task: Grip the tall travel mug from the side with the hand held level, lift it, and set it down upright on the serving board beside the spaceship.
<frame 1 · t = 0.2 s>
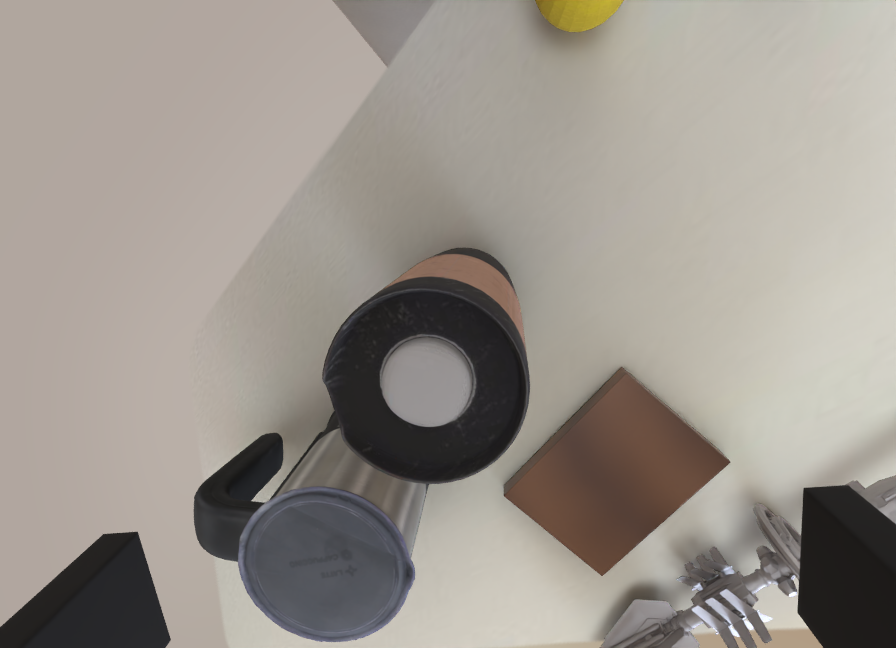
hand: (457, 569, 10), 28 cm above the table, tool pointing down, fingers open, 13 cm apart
spaceship: (771, 519, 39), on the table
lemon: (572, 2, 33), on the table
serving board: (609, 469, 39), on the table
milk frother: (368, 483, 42), on the table
travel mug: (464, 296, 38), on the table
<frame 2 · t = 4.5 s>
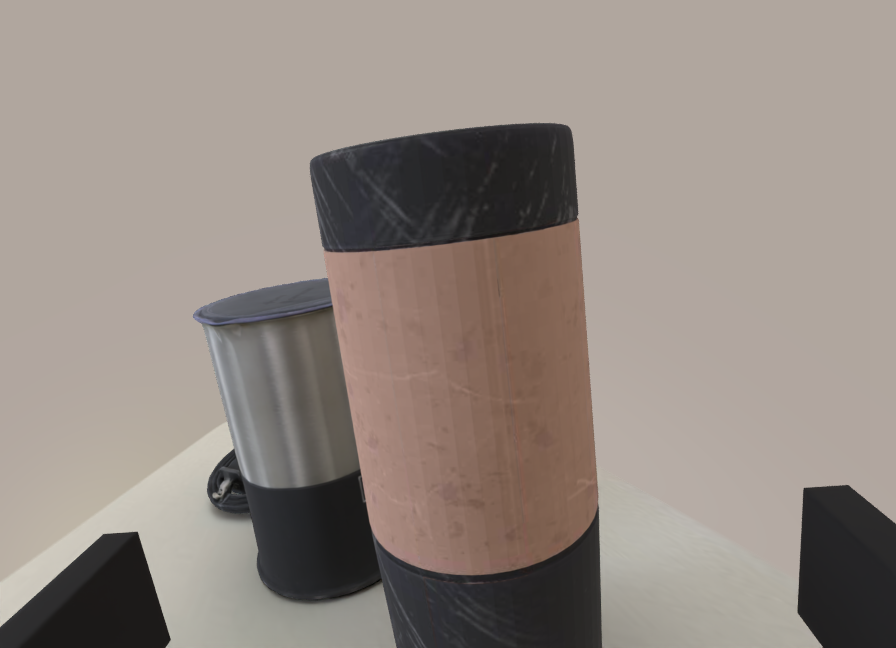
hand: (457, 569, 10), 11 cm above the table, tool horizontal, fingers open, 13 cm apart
milk frother: (304, 521, 33), on the table
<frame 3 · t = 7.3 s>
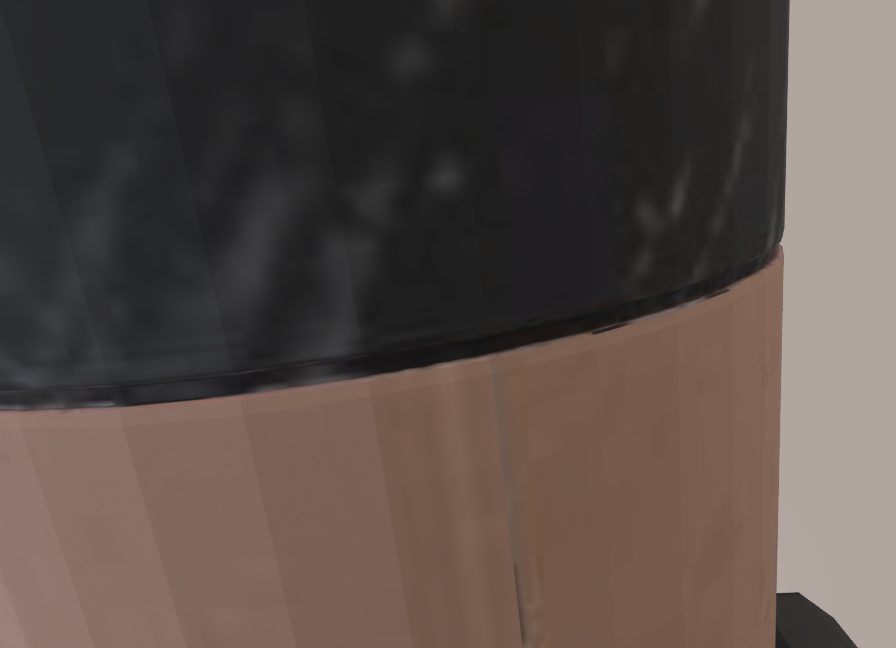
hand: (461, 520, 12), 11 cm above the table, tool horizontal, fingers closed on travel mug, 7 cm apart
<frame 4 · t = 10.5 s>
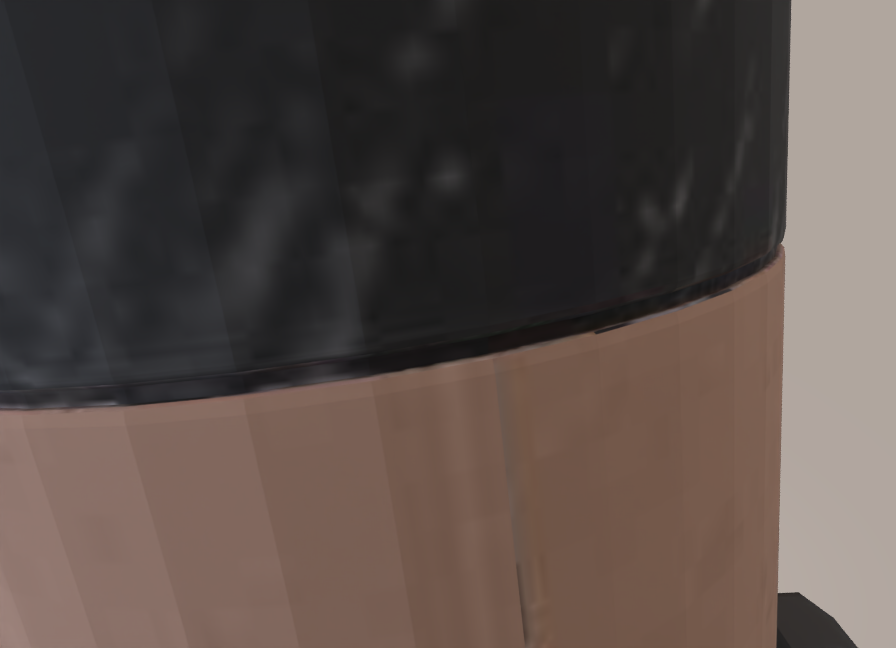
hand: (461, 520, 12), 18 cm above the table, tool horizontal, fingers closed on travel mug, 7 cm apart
when the fingers open (12 cm above the table, at t = 13.8 s): travel mug stays where it is, resting on serving board.
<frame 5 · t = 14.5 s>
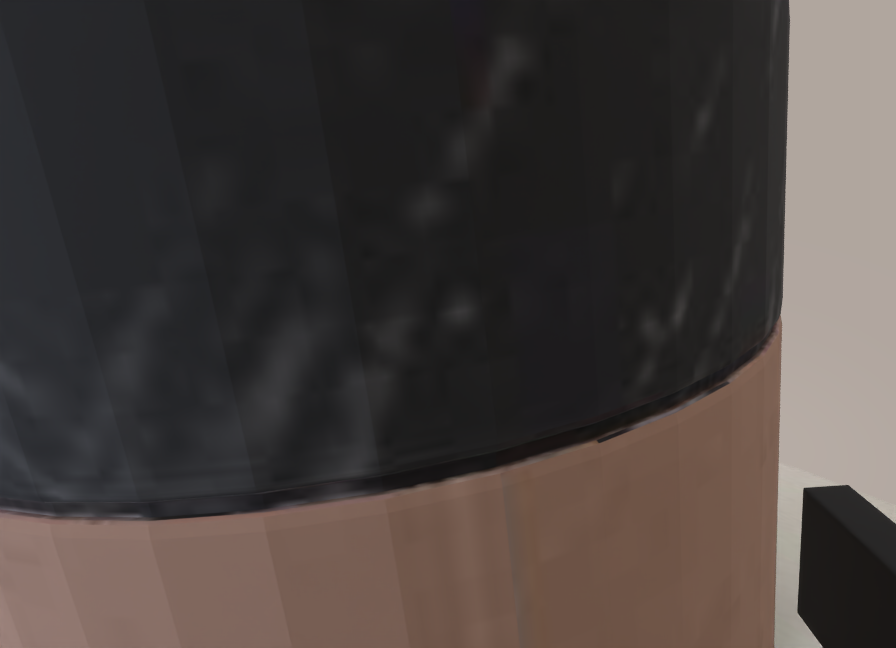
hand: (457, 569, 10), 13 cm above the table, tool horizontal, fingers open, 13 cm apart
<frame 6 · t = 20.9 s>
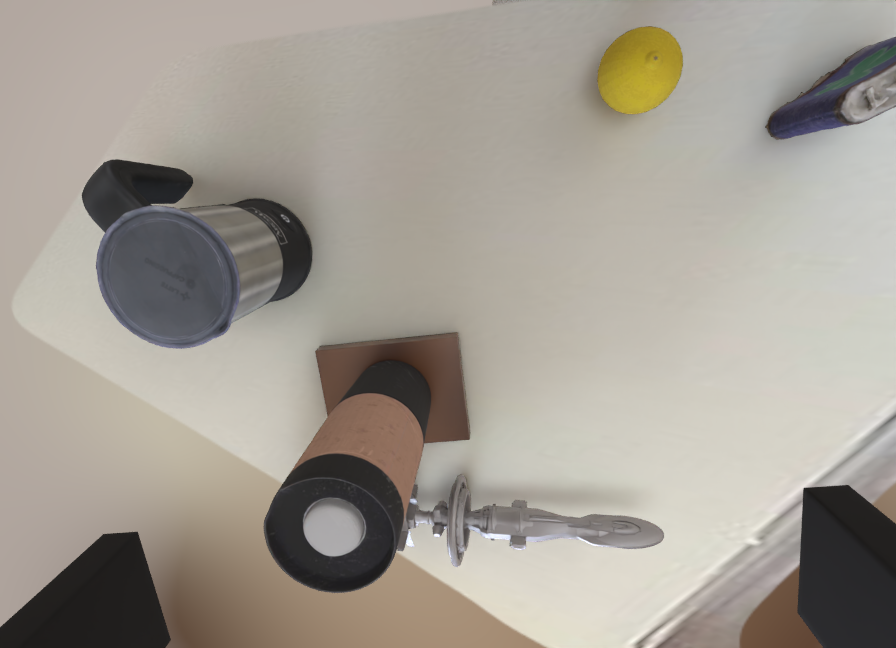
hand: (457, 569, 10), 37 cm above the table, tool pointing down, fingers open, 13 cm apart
spaceship: (463, 493, 52), on the table
lemon: (623, 83, 41), on the table
serving board: (396, 389, 49), on the table
milk frother: (226, 269, 47), on the table
flask: (820, 96, 41), on the table
travel mug: (393, 395, 48), point 1 cm above the table, touching serving board
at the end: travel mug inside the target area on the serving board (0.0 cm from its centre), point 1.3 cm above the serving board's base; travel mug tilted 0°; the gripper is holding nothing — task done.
